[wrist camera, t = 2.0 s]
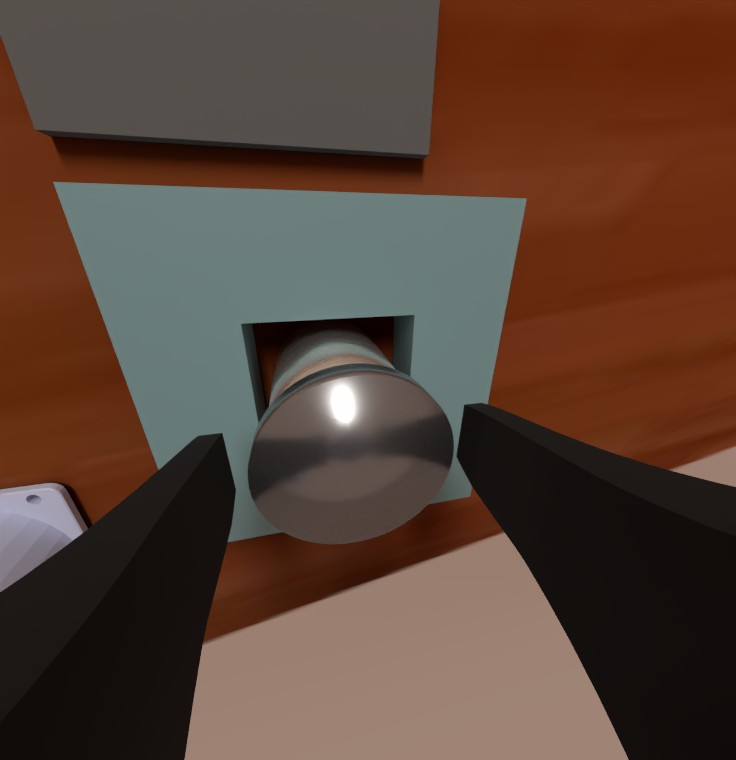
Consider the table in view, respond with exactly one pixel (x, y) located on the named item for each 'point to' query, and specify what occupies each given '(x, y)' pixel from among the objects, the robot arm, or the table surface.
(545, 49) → the table surface
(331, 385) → the door knob
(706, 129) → the table surface
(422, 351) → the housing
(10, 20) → the rubber mat
